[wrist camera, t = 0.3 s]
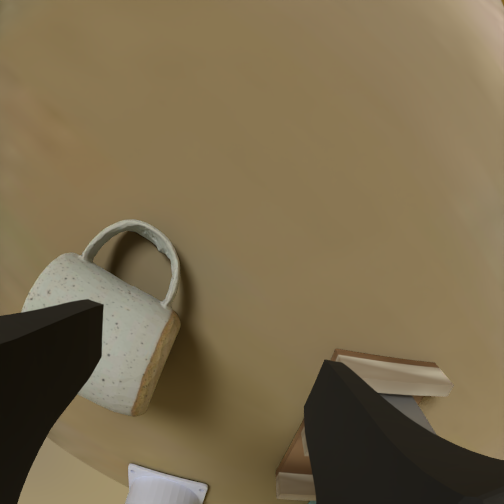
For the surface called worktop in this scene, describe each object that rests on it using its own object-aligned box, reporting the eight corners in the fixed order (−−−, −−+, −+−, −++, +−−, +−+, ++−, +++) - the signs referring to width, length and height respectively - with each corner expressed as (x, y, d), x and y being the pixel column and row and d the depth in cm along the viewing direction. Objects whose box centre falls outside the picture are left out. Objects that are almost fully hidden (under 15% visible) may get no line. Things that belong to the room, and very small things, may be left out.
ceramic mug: (163, 379, 21) (131, 452, 13) (68, 330, 20) (11, 381, 13) (216, 248, 19) (191, 289, 11) (101, 197, 18) (25, 207, 11)
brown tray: (361, 475, 23) (368, 499, 20) (275, 471, 23) (276, 498, 20) (434, 362, 20) (453, 385, 17) (335, 348, 20) (347, 375, 17)
